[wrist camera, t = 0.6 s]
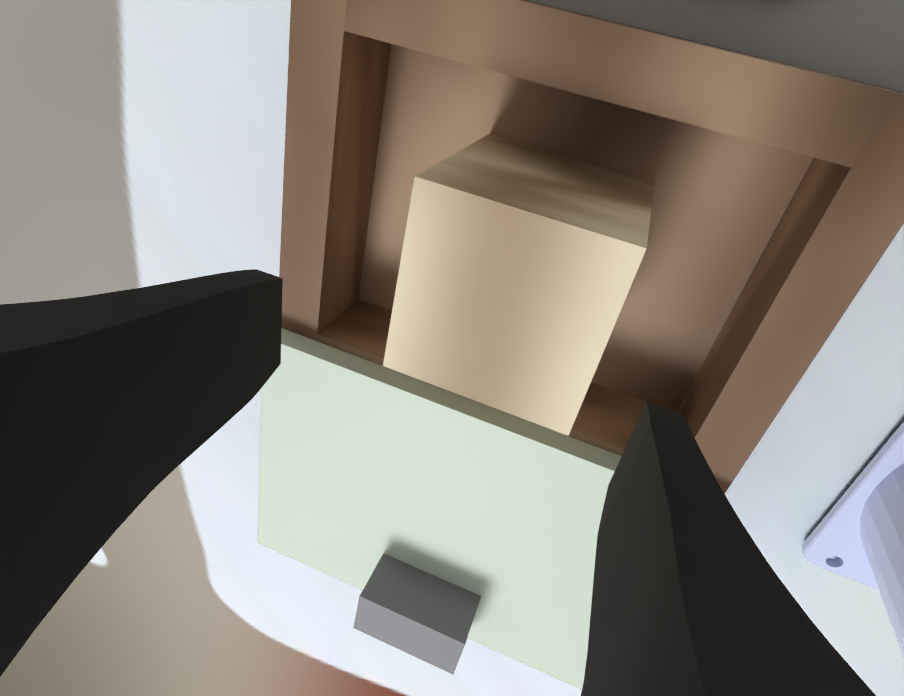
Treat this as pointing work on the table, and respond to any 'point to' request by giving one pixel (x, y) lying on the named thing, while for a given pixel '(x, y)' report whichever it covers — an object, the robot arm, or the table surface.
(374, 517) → the lid
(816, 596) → the table surface
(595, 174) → the block
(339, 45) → the brown wooden shallow box
